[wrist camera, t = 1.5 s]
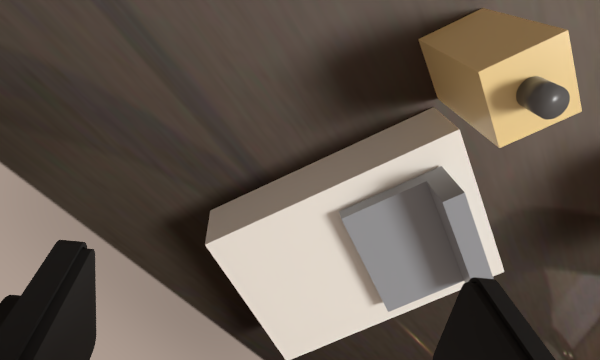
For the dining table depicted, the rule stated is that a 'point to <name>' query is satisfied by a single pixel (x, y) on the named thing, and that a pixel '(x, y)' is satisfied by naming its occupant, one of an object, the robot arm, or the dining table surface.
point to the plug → (503, 73)
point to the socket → (332, 234)
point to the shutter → (417, 238)
